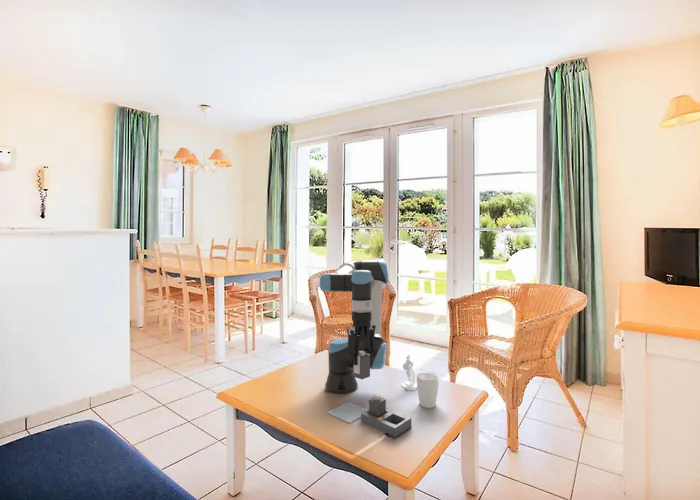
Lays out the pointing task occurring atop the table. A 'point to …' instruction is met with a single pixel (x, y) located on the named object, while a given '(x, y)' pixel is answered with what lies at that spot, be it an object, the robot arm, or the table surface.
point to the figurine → (409, 375)
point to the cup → (427, 389)
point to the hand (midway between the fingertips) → (361, 371)
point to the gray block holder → (385, 418)
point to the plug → (363, 366)
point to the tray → (347, 412)
